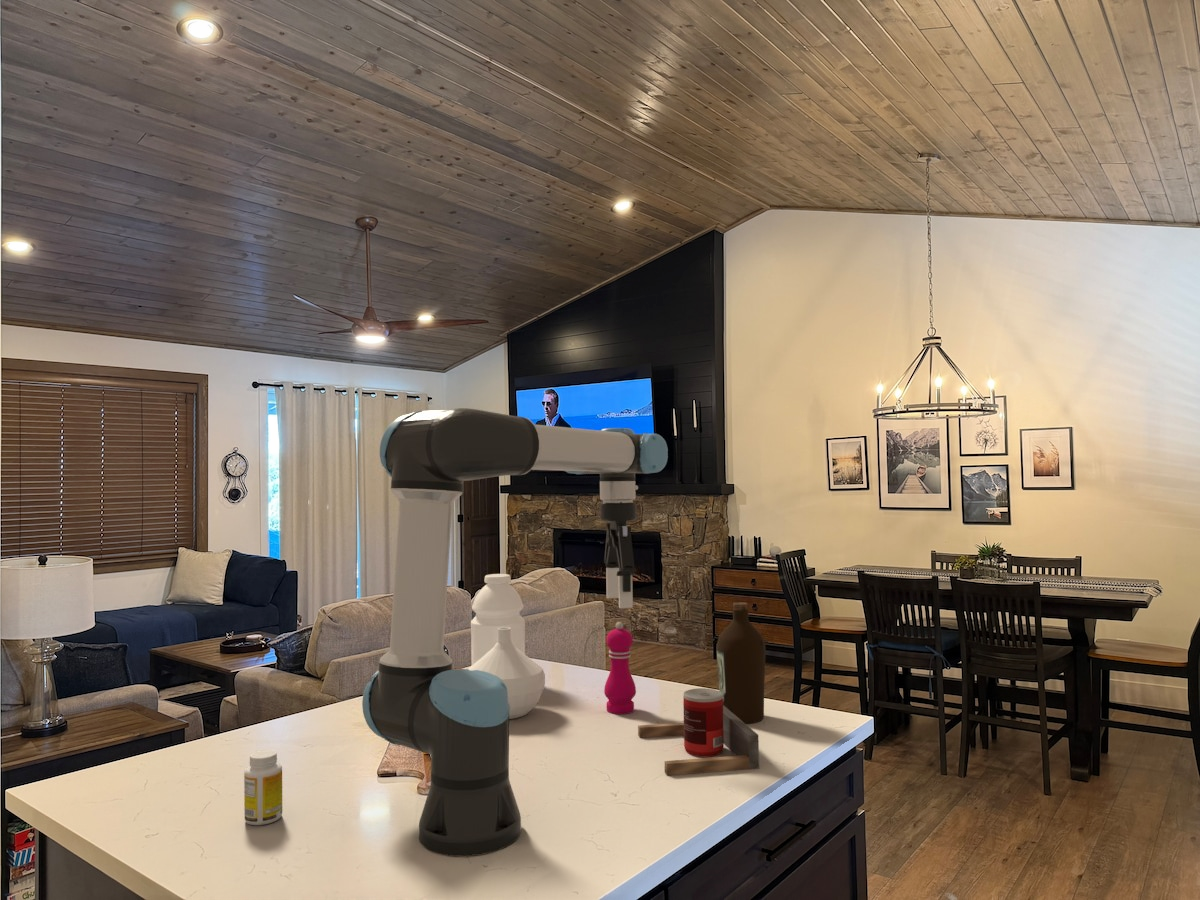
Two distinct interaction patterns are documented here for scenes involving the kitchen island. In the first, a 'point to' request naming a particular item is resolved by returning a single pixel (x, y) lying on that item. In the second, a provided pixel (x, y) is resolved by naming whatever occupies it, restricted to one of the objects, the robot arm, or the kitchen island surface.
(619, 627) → the pepper mill
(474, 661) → the bottle
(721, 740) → the canned food
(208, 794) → the kitchen island surface
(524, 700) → the vase
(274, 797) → the supplement bottle
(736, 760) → the guide lane
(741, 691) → the olive oil
